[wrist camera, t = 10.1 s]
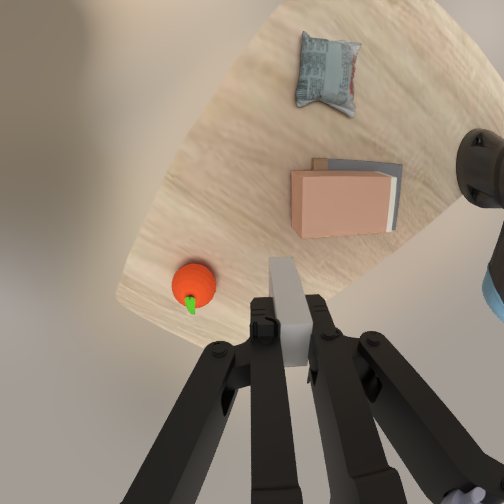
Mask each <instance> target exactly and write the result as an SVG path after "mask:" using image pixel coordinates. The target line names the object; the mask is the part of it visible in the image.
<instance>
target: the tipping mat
mask: <svg viewBox="0 0 504 504" xmlns="http://www.w3.org/2000/svg"><path fill="white" fill-rule="evenodd" d="M312 171H379V172H382V173H385V174H388V175H391V176H394V177H397V184H396V196H395V206H394V215H393V223H392V230H395V228H396V221H397V214H398V206H399V197H400V188H401V177H402V165H400V164H391V163H381V162H370V161H358V160H342V159H322V158H312Z"/></svg>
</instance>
